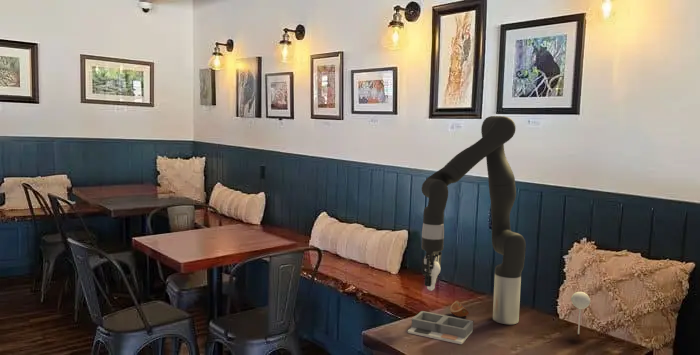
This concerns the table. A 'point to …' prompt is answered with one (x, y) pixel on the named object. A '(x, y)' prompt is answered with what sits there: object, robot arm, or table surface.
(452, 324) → the socket board
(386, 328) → the table surface
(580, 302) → the lollipop
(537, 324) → the table surface
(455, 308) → the fruit slice
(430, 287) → the lightbulb
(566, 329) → the table surface
